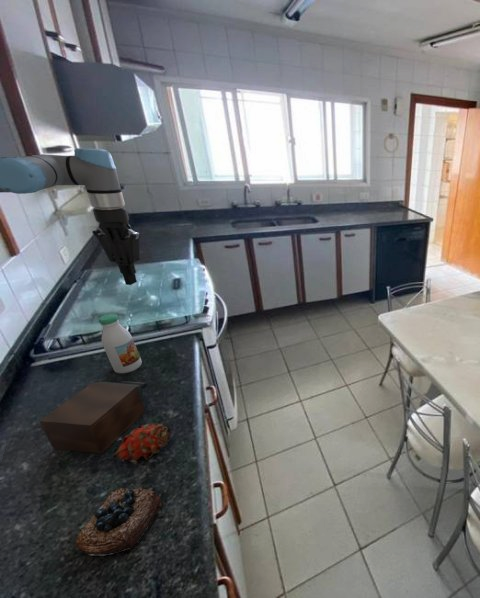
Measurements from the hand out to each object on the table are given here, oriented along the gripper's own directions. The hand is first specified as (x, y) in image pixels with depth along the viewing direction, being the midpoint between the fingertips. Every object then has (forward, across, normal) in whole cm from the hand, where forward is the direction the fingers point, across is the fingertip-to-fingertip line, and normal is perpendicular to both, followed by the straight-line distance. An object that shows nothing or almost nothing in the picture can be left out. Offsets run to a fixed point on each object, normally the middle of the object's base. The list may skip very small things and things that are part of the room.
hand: (131, 283), depth 104 cm
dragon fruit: (+31, -25, +36) cm, 53 cm away
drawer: (+30, -8, +26) cm, 40 cm away
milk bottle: (+31, +6, +4) cm, 31 cm away
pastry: (+30, -33, +53) cm, 69 cm away
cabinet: (+30, -8, +30) cm, 43 cm away
